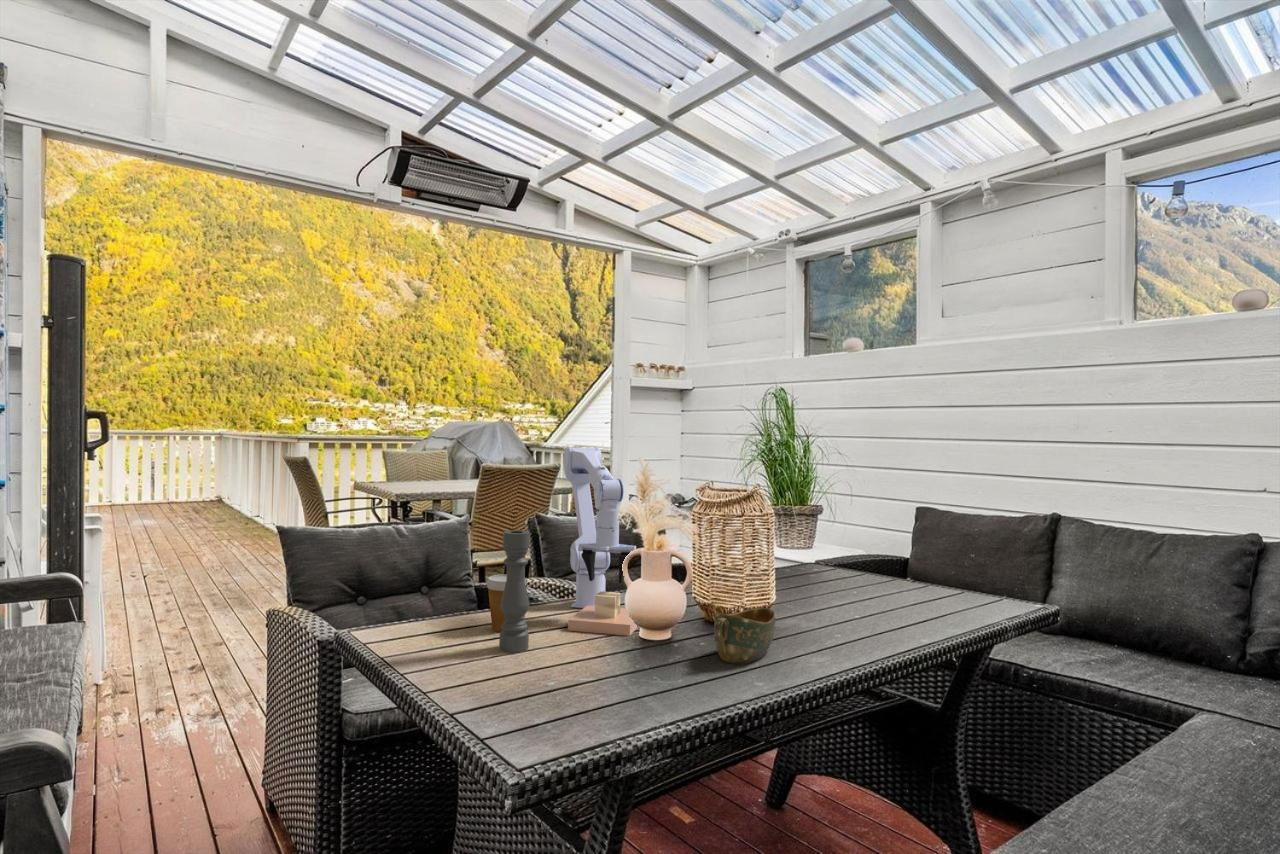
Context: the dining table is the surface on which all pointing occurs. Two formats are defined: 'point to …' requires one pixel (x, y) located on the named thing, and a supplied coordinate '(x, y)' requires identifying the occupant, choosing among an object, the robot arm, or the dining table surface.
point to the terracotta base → (601, 622)
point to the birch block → (607, 604)
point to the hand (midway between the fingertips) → (606, 581)
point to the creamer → (744, 635)
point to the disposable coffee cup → (496, 599)
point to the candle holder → (515, 593)
